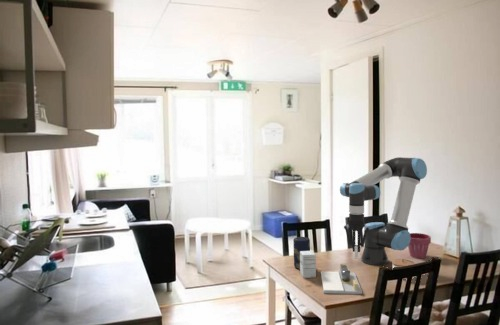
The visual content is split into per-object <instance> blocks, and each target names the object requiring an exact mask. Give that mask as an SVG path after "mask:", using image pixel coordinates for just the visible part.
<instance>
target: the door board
mask: <svg viewBox="0 0 500 325" xmlns="http://www.w3.org/2000/svg"><path fill="white" fill-rule="evenodd" d="M320 280H321V283H322V289H323V290H322V291H323V294H340V295H341V294H342V295H343V294H348V295H363V290H362V288H361V285H360V283H359V280H358V278H357V275H356V274H355V272H350V281H343V280H342V275H341V272H340V271H326V270H325V271H323V270H322V271H320Z"/></svg>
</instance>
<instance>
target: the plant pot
mask: <svg viewBox="0 0 500 325" xmlns="http://www.w3.org/2000/svg"><path fill="white" fill-rule="evenodd" d="M409 233H410V235H411V236H410V237H411V240H410V243H409V245H408V247H407V248H408V252H409V257H411V258H414V259H425V258H426V257H427V254H428V250H429V246H430V244H431V243H432V242H431V241H432V237H431V235H429V234H425V233H421V232H412V233H411V232H409Z"/></svg>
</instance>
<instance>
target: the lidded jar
mask: <svg viewBox="0 0 500 325" xmlns="http://www.w3.org/2000/svg"><path fill="white" fill-rule="evenodd" d="M391 263H392V264H391V265H392V269H393V268H394V267H402V266H408V265H413V264H414V265H415V263H414V262H413V261H411V260H409V259H405V258H400V259H399V258H396V259H393V260H392V262H391Z"/></svg>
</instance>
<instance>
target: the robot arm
mask: <svg viewBox="0 0 500 325" xmlns="http://www.w3.org/2000/svg"><path fill="white" fill-rule="evenodd" d="M427 174H428V168H427V164H426V162H425V160H424V159H422V158H419V157H401V156H400V157H394V158H391V159H388V160H386V161H384V162H382V163H380V164H379V165H378V167H377V168H375V169H373V170H371V171H370V172H368V173H366V174H364V175H362V176H361V177H359V178H357V179H355V180H354V181H352V182H350V183H349V182H345V183H342V184H341V185H340V187H339V192H340V194H341V196H343V197H346V198H349V199H348V200H349V202H348V212H349V214H348V223H347V224H345V225H344V226H343V229H344V230H345V233H346V236H347V241H348V244H349V245H351V246H352V252H354V259H359V253H360V252H361V246H363V247H364V248H363V250H362V254H361V258H360V259H361V262H362V263H364V264H367V265H370V266H371V265H372V266H382V265H386V264H388V263H389V259H388V255H387V252H386V249H387V248H388V249H391V250H394V251H400V252H401V251H404V250H405V249H407V248H408V245H409V243H410V240H411V237H410V236H411V235H410V233H411V232H409V227H408V225H407V224H408V219H409V216H410V211H411V207H412V205H413V204H412V203H413V201H414V200H413V199H414V195H415V191H416V187H417V185H419V184H420V182H421V180H422V179H424V178H425V177H427ZM393 177H397V178H398V179H399V181H400V183H399V187H398V190H397V191H398V192H397V195H396V198H395V202H394V203H395V204H394V207H393V210H392V213H391V218H390V220H389V221H388V222H387V223H386V224H385V222H380V221H379V222H378V221H375V222H368V223H365V201H373V200H377V199H379V198H380V196H381V189H380V188H379V186H378V185H376V184H378V183H380V182H382V181H383V180H386V179H390V178H393ZM350 229H351V232H352V235H351V233H350ZM362 230H363V235H362V239H361V231H362ZM356 233H357V242H356ZM351 236H352V237H351ZM356 243H357V244H356ZM385 248H386V249H385Z"/></svg>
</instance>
